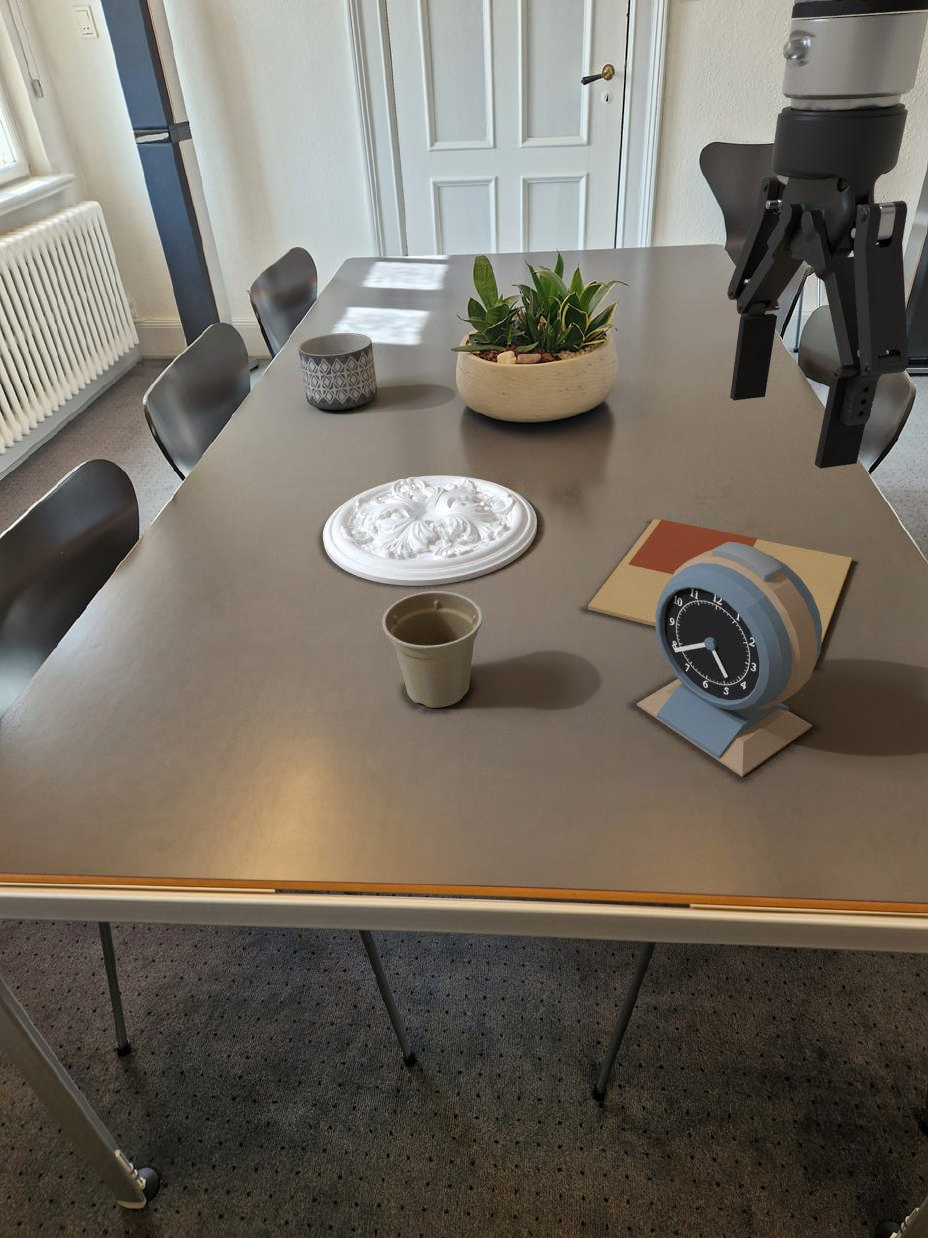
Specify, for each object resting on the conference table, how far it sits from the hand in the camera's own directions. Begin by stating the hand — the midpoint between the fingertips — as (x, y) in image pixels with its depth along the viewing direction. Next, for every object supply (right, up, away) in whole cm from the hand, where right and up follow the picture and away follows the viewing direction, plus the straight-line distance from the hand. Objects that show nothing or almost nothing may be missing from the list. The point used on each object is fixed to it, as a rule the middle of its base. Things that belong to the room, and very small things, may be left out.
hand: (787, 428), depth 64 cm
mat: (+5, -11, +32) cm, 35 cm away
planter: (-46, +24, +88) cm, 103 cm away
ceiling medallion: (-29, -3, +48) cm, 56 cm away
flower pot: (-27, -22, +20) cm, 40 cm away
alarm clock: (-1, -24, +15) cm, 28 cm away
